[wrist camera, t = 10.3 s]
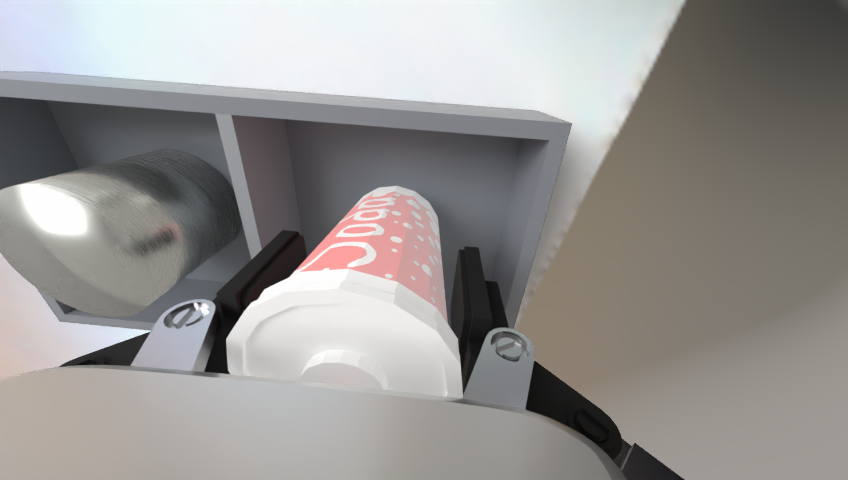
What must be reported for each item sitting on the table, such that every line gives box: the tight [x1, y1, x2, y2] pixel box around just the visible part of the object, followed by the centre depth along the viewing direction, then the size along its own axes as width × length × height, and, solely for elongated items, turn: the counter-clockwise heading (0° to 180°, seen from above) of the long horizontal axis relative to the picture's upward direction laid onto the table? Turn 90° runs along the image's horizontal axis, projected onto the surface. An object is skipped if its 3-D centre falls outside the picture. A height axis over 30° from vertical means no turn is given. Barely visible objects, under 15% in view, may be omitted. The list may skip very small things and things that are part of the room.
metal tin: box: [0, 149, 242, 317], centre depth 14 cm, size 6×6×6 cm
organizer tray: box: [0, 71, 572, 330], centre depth 15 cm, size 12×25×4 cm, turn 86°
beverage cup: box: [226, 186, 463, 398], centre depth 9 cm, size 6×6×14 cm
